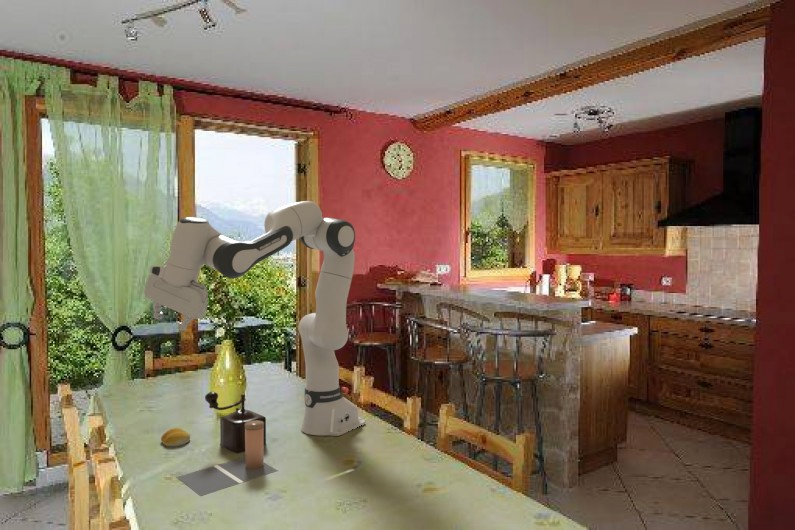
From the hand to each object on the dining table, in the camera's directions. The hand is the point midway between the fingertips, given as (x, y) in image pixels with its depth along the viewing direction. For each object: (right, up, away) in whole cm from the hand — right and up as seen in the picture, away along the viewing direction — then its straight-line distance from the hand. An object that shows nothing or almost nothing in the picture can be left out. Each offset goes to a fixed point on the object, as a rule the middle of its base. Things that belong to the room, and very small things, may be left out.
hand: (169, 324), depth 148 cm
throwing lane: (+16, -41, -1) cm, 44 cm away
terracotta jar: (+22, -40, +4) cm, 46 cm away
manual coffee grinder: (+12, -41, +19) cm, 46 cm away
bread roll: (-8, -40, +24) cm, 48 cm away
